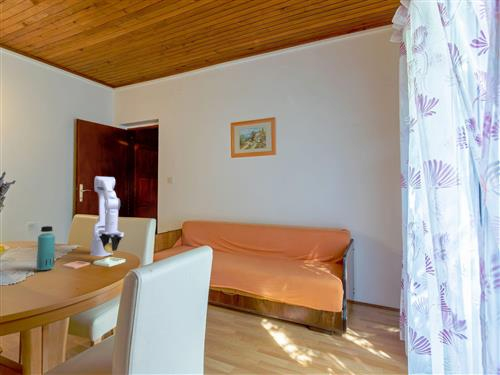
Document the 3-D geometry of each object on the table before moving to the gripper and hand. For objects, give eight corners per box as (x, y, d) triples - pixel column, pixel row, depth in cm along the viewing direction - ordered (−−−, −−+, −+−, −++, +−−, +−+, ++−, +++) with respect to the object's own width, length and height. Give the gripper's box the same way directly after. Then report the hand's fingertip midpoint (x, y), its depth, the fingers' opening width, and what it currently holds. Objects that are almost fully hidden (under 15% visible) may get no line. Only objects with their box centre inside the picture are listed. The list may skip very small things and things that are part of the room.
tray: (93, 265, 133) (93, 261, 133) (110, 260, 142) (110, 256, 142) (109, 267, 129) (109, 264, 129) (125, 262, 139) (125, 259, 139)
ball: (101, 253, 134) (102, 242, 134) (110, 251, 139) (111, 241, 139) (108, 254, 132) (109, 244, 132) (117, 252, 137) (118, 242, 137)
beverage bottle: (44, 274, 117) (46, 227, 117) (31, 272, 119) (33, 226, 119) (57, 269, 124) (59, 225, 124) (45, 268, 125) (47, 225, 125)
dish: (62, 267, 127) (62, 264, 127) (78, 263, 135) (78, 260, 135) (74, 269, 125) (74, 267, 125) (90, 265, 132) (90, 262, 132)
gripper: (93, 222, 135) (92, 249, 134) (116, 224, 130) (115, 253, 130) (105, 220, 141) (104, 247, 141) (127, 223, 136) (126, 250, 136)
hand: (110, 249), depth 136 cm, fingers closed on ball, 5 cm apart
